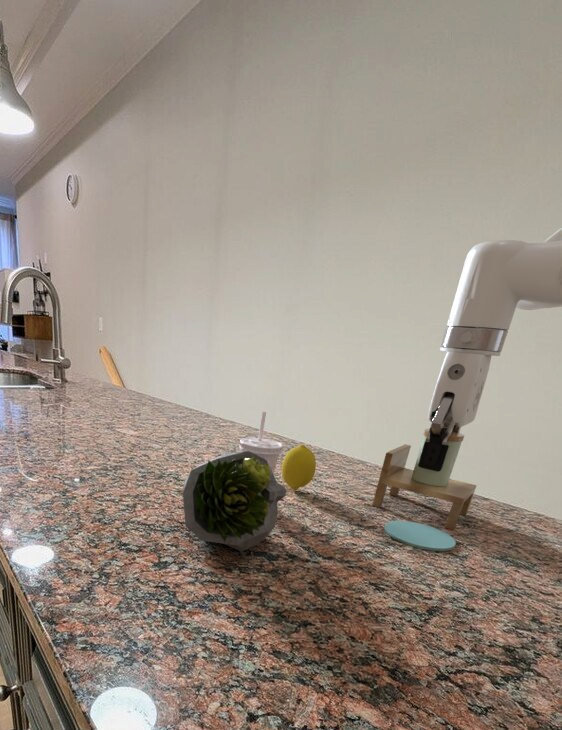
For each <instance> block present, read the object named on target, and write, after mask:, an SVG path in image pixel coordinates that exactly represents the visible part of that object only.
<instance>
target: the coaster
mask: <svg viewBox="0 0 562 730" xmlns="http://www.w3.org/2000/svg"><path fill="white" fill-rule="evenodd" d="M384 525H385V526H384V531H385V533H386V534H387V535H388V536H389V537H391V538H392V539H393V540H396V541H397V542H400V543H403V544H405V545H407V546H410V547H414V548H417V549H421V550H427V551H431V552H433V551H434V552H447V551H451V550H453V549H455V547H456V544H457V542H456V540H455V538H453V536H451V535H450V534H448V533H447V532H445V531H443V530H441V529H439V528H436V527H434V526H430V525H427V524H424V523H420V522H415V521H408V520H392V521H388V522H387V523H385V524H384Z"/></svg>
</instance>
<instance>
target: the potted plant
mask: <svg viewBox="0 0 562 730" xmlns="http://www.w3.org/2000/svg"><path fill="white" fill-rule="evenodd" d="M286 495H287V489H286V487H285V486H284V485H282V484H280V483H279V482H278V481H277V479H276V477H275V474H273V472H272V470H271V468H270V466H269V464H268V462H267V460H266V459H265V458H264V457H262V456H259V455H257V454H255V453H252V452H250V451H244V452H241V451H237V452H236V451H235V452H228V453H224V454H222V455H219V456H218V457H215V458H212V459H208V460H207V461H206V462H203V463H201V464H199V465H198V466H196V467H194V468H192V469H191V470H190V471H189V473H188V474H187V476H186V477H185V480H184V485H183V489H182V502H183V515H184V525H185V527H186V529H188V530H189V531H190V532H191V533H192V534H193V535H194V536H195V537H196V538H197V539H199V541H201V542H207V543H208V542H210V543H218V544H224V545H226V546H228V547H230V548H232V549H234V550H236V551H239V552H240V553H242V552H244V551H246V550H248V549H250V548H251V547H254V546H256V545H259V544H260V543H262V542H263V541H264V540H265V539H266V538H267V537H269V535H270V534H271V532H272V531H273V530H274V528H275V525H276V521H277V518H278V515H279V509H278V502H280V501H281V500H282V499H284V498H285V497H286Z"/></svg>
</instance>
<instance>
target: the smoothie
mask: <svg viewBox="0 0 562 730" xmlns="http://www.w3.org/2000/svg"><path fill="white" fill-rule="evenodd" d="M266 415H267V412H266V411H261V417H260V425H259V430H258V437H243V438H241V439H240V440H239V445H238V447H239V448H240V452H244V451H250V452H252V453H255V454H257V455H259V456H262V457H264V458H265V459H266V460H267V462H268V464H269V466H270V468H271V470H272V472H273V474H274V473H275V471H276V467H277V463H278V461H279V458H280V454H282V453H283V448H284V445H283V444H282V443H281V442H280V441H277V440H273V439H269V438H263V434H264V429H265V422H266ZM274 475H275V474H274Z"/></svg>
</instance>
